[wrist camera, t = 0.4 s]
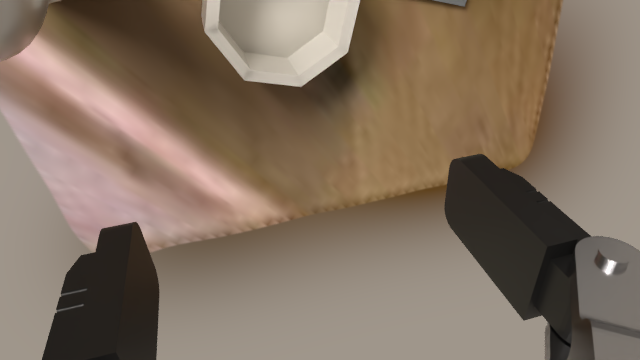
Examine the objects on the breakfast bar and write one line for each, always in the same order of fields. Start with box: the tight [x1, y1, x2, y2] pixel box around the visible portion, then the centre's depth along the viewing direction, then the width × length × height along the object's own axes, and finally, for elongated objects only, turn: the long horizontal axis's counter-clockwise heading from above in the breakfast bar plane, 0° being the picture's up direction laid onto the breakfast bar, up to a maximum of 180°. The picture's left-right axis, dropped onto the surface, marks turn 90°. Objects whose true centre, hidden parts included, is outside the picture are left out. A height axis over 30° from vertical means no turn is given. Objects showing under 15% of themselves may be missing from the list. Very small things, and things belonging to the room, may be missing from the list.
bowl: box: [201, 0, 360, 87], centre depth 31 cm, size 10×10×5 cm
